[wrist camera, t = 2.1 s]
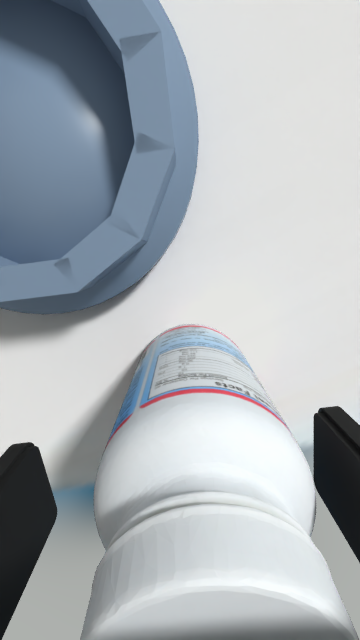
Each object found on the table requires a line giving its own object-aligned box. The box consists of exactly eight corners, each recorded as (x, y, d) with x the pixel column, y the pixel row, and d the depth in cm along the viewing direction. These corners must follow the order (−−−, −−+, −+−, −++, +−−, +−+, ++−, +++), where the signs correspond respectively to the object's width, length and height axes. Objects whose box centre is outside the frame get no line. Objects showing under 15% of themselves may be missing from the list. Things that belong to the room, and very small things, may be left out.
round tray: (174, -97, 10) (171, -240, 7) (211, 291, 14) (219, 301, 11) (-190, -28, 11) (-330, -133, 8) (-60, 324, 14) (-122, 342, 11)
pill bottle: (188, 436, 16) (199, 825, 5) (117, 368, 15) (-59, 679, 4) (268, 375, 15) (493, 708, 4) (197, 297, 14) (248, 465, 3)
